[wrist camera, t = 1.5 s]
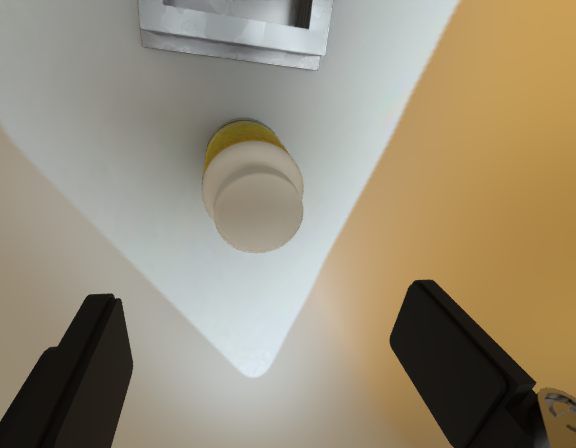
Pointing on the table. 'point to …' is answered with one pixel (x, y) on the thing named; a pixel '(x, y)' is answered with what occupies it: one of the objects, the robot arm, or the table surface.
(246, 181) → the pill bottle
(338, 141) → the table surface
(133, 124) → the table surface
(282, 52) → the socket
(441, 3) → the table surface
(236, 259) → the table surface
